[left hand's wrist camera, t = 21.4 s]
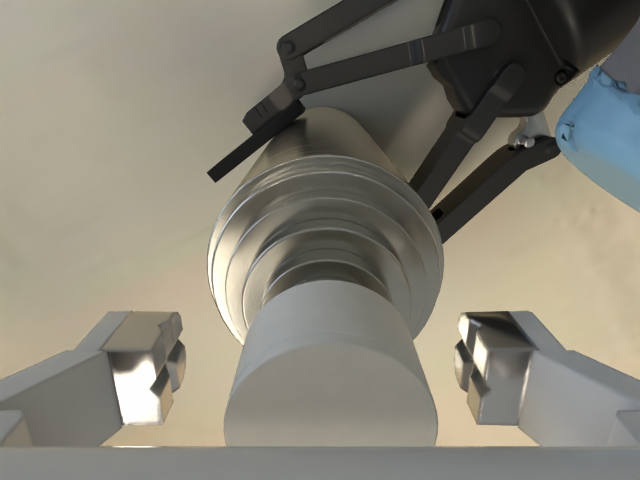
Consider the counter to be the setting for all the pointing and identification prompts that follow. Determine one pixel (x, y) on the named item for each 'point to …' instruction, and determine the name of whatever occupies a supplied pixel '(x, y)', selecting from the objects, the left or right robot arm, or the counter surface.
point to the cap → (329, 374)
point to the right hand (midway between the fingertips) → (261, 225)
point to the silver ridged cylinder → (324, 225)
